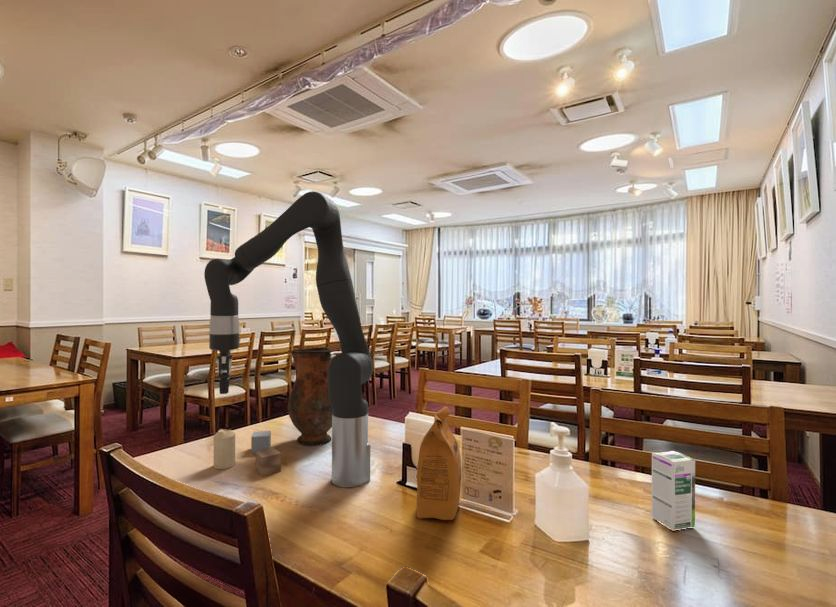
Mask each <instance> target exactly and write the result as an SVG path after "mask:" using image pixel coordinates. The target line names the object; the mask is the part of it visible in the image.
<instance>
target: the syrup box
mask: <svg viewBox="0 0 836 607" xmlns="http://www.w3.org/2000/svg"><path fill="white" fill-rule="evenodd" d="M695 506H696V460H695V459H694V458H692V457H690V456H688V455H686V454H684V453H681V452H678V451H674V450H670V451H662V452H652V453H651V518H652V517H653V518H655V519H656V520H658V521H660V522H661V523H663V524H665V525H666V526H668V527H669V528H671V529H673V530H675V529H682V528H688V527H694V526H695V527H696V507H695Z"/></svg>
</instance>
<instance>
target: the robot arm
mask: <svg viewBox="0 0 836 607" xmlns="http://www.w3.org/2000/svg"><path fill="white" fill-rule="evenodd" d="M309 228H310V229H312V232H313V236H314V240H315V242H316V243H315V244H316V247H317V263H316V270H315V271H316V272H315V284H316V289H317V294H318V298H319V303H320V306H321V309H322V310H323V312H324V314H325V316H326V317H327V319H328V320H329V322H330V324H331V325H332V327H333V328H334V330H335V332H336V335H337V337H338V342H339V346H340V351H341V352H339V353H340V354H337V355H333V357H331V359H330V364H329V368H328V392H329V402H330V405H331V408H332V427H331V482H332V484H334V485H335V486H337V487H341V488H354V487H359V486H361V485H364V484H365V483H368V482H371V443H370V442H369V403H368V401H367V400H366V399H363V395H362V394H363V393H362V385H363V384H365V383H366V382H368V381H369V380H370V379H371V377H372V375H373V371H374V363H373V359H372V356H371V352H370V349H369V347H368V344H367V343H368V342H367V340H366V337H365V334H364V330H363V326H362V322H361V318H360V312H359V309H358V308H359V307H358V304H357V300H356V299H357V298H356V293H355V289H354V284H353V279H352V274H351V273H350V268H349V263H348V259H347V258H348V257H347V256H346V251H345V248H344V242H343V233H342V224H341V215H340V210H339V208H338V206H337V204H336V203H335V201H334V200H332V199H331V198H329V197H328V196H327V195H324V194H323V193H320V192H318V191H313V190H312V191H307V192H306V193H304V194H302V195H301V196H300V197H299V198H297V200H295V201H294V202H293V203H292V204H291V205H290V206H289V207H288V208H287V209H285V211H283V212H282V213H281V214H280V215H279V216H278V217H277V218H276V219H275V220H274V221H272V222H271V224H269V225H268V226H267V227H265V228H264V229H263V230H262V231H261V232H259V233H257V234H256V235H254V236H253V237H251V238H250V239H248V240H246V241H245V242H244V243H242V244H241V245H239V246H238V247H237V248H236V249H235V251H234V257H232V258H230V259H223V258H213V259H211V260H209V261H208V262H207V264H206V265H205V267H204V272H203V275H204V281H205V286H206V290H207V293H208V296H209V300H210V304H209V305H210V307H209V308H210V309H209V312H210V318H209V332H208V333H209V336H208V338H209V340H208V341H209V349H210V350H211V351H218V352H219V355H216V357H215V358H216V364H217V367H216V369H217V370H216V371H217V373H218V375H217V377H218V381H219V394H220V395H227V394H229V392H230V391H229V387H230V377H231V376H230V373H231V372H232V365H233V364H232V363H233V354H231V351H233V350H238V349H239V348H240V321H239V320H240V318H239V298H238V296H237V295H235V294H233V293H232V291H231V287H230V286H233V285H237V284H239V283H241V282H243V281H244V280H245V279H247V277H248V276H249V275H250V274H252V273H253V271H254V270H255V269H256V268H257V267H259V266H261V265H263V264H264V263H266V262H267V261H270V259H271V258H273V257H274V256H276V254H277V253H279V251H280V250H281V248H282V247H283V246H284V245H285V243H286V242H287V241H288V240H290V239H291V238H292V237H293V236H295V235H296V234H298V233H300V232H301V231H304V230H306V229H309Z"/></svg>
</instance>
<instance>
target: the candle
mask: <svg viewBox="0 0 836 607" xmlns="http://www.w3.org/2000/svg"><path fill="white" fill-rule="evenodd" d="M235 465H236V432H235V431H233V430H232V429H223V428H220V429H219V430H218V431H217V432H216V433H215V434H214V435H213V468H214V469H215V470H226V469H229V468H233V467H234V466H235Z"/></svg>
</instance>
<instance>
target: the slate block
mask: <svg viewBox="0 0 836 607" xmlns="http://www.w3.org/2000/svg"><path fill="white" fill-rule="evenodd" d="M250 440H251V441H250V442H251V444H250V445H251V451H250V452H251V454H256V452H258V451H262V450H267V449H271V446H272V430H258V431H253V433H252V435H251V438H250Z"/></svg>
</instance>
